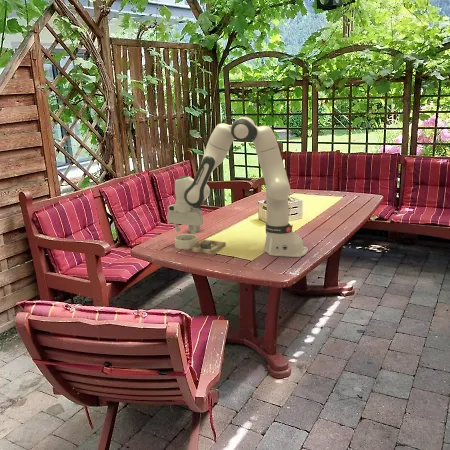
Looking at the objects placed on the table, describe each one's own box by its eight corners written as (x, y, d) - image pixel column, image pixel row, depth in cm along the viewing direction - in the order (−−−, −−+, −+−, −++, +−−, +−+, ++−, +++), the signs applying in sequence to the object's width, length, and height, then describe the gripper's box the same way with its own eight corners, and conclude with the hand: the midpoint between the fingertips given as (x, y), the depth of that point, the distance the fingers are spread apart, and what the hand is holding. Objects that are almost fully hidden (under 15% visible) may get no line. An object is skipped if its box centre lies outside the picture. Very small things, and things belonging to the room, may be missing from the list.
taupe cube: (191, 244, 253) (191, 237, 252) (187, 246, 250) (187, 239, 249) (185, 243, 255) (184, 236, 254) (181, 246, 251) (181, 238, 250)
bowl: (201, 245, 255) (201, 235, 253) (190, 252, 245) (190, 242, 243) (182, 242, 260) (182, 232, 259) (170, 249, 250) (170, 239, 248)
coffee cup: (188, 235, 273) (187, 209, 269) (185, 230, 282) (183, 206, 277) (204, 233, 275) (203, 208, 271) (200, 228, 284) (199, 204, 280)
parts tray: (225, 247, 250) (225, 242, 249) (213, 256, 238) (213, 250, 237) (204, 244, 255) (204, 239, 255) (191, 252, 243) (190, 247, 243)
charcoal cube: (211, 249, 245) (210, 242, 244) (207, 251, 241) (207, 244, 240) (204, 248, 246) (204, 241, 245) (200, 250, 243) (200, 243, 242)
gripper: (204, 207, 244) (206, 232, 248) (171, 204, 253) (172, 228, 257) (198, 210, 239) (200, 236, 243) (164, 206, 248) (166, 232, 252)
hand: (185, 232), depth 250 cm, fingers open, 8 cm apart
